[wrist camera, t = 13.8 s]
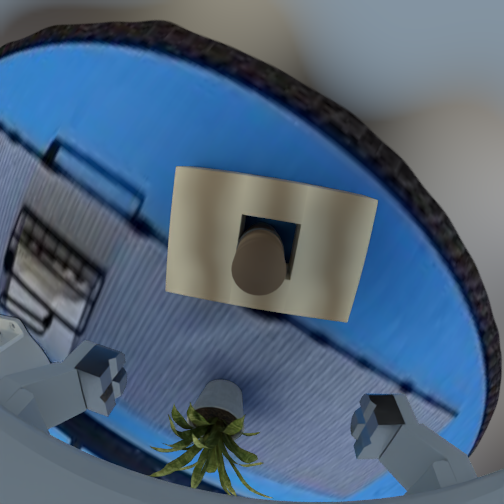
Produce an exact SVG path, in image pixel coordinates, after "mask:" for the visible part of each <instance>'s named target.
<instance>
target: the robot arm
mask: <svg viewBox="0 0 504 504" xmlns="http://www.w3.org/2000/svg"><path fill="white" fill-rule="evenodd" d="M124 364H125V354H124V353H122V352H120V351H117V350H114V349H111V348H108V347H105V346H103V345H100V344H96V343H94V342H91V341H88V340H85V341H83V342H82V343H81V344H80V345H79V346H78V347H77V348H76V349H75V350H74V351H73V352H72V353H71V354H70V355H69V356H68V357H67V358H66V359H65V360H64V361H63V362H62V363H60V362H55V363H51V364H50V362H49V360H48V358H47V357H46V355H45V354H44V352H43V351H42V349H41V348H40V347H39V346H38V345H37V343H36V342H35V341H34V340H33V339H32V338H31V337H30V335H29V334H28V332H27V330H26V329H25V327H24V325H23V324H22V322H21V321H20V320H19V319H17V318H13V317H8V316H3V315H0V504H504V468H503V469H501V470H498V471H496V472H493V473H490V474H487V475H484V476H481V477H477V475H476V473H475V471H474V469H473V467H472V464H471V463H470V460H469V458H468V456H467V454H465V453H464V452H462V451H461V450H459V449H458V448H456V447H455V446H453V445H452V444H451V443H449V442H448V441H446V440H445V439H443V438H442V437H441V436H439V435H438V434H436V433H435V432H434V431H432V430H431V429H429V428H428V427H426V426H425V425H424V424H419V423H418V421H417V418H416V416H415V414H414V412H413V410H412V408H411V406H410V403H409V401H408V399H407V397H406V395H404V394H364V395H363V396H362V398H361V400H360V406H361V407H360V408H359V409H357V410H356V411H355V412H354V414H353V416H352V420H351V435H352V436H353V437H354V438H355V439H356V442H355V444H354V449H355V453H356V458H357V459H379V461H380V462H381V463H382V464H383V465H384V466H385V467H386V469H387V470H388V471H389V472H390V473H391V474H392V475H393V476H394V477H395V478H396V480H397V481H398V482H399V483H400V484H401V485H402V486H403V487H404V488H405V489H406V490H407V492H406V493H405V494H404V495H403V496H397V497H390V498H382V499H373V500H362V501H347V502H290V501H274V500H263V499H253V498H245V497H238V496H231V495H225V494H219V493H214V492H208V491H204V490H199V489H194V488H190V487H186V486H182V485H178V484H174V483H170V482H166V481H163V480H159V479H156V478H153V477H149V476H146V475H143V474H140V473H137V472H134V471H131V470H128V469H125V468H123V467H120V466H117V465H115V464H112V463H110V462H107V461H105V460H102V459H100V458H97V457H95V456H93V455H90V454H88V453H86V452H84V451H81V450H79V449H77V448H75V447H73V446H71V445H69V444H67V443H65V442H63V441H61V440H59V439H57V438H55V437H53V436H51V435H50V433H49V431H48V429H50V428H52V427H54V426H56V425H58V424H60V423H62V422H64V421H66V420H68V419H70V418H72V417H74V416H76V415H78V414H80V413H82V412H84V411H86V410H87V409H88V410H91V411H94V412H96V413H99V414H102V415H105V416H107V417H108V416H109V414H110V413H111V411H112V410H113V408H114V406H115V405H116V403H115V399H116V398H118V397H120V396H121V395H122V394H123V392H124V390H125V387H126V384H127V372H126V371H125V369H124V368H123V365H124Z"/></svg>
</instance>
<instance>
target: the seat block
mask: <svg viewBox="0 0 504 504" xmlns="http://www.w3.org/2000/svg"><path fill="white" fill-rule="evenodd" d="M377 204H378V200H376V199H373V198H370V197H367V196H365V195H361V194H356V193H352V192H347V191H342V190H337V189H332V188H327V187H322V186H317V185H312V184H307V183H301V182H296V181H290V180H284V179H278V178H272V177H266V176H260V175H253V174H247V173H240V172H233V171H226V170H218V169H210V168H202V167H193V166H176V172H175V180H174V189H173V198H172V208H171V218H170V229H169V242H168V255H167V271H166V291H167V292H171V293H176V294H181V295H186V296H191V297H196V298H201V299H206V300H211V301H216V302H222V303H227V304H232V305H238V306H243V307H249V308H255V309H261V310H267V311H273V312H279V313H285V314H292V315H298V316H305V317H311V318H318V319H325V320H333V321H340V322H347V321H348V318H349V315H350V312H351V308H352V305H353V301H354V298H355V295H356V291H357V287H358V284H359V280H360V276H361V273H362V269H363V265H364V261H365V257H366V253H367V249H368V245H369V241H370V236H371V232H372V228H373V223H374V218H375V214H376V209H377ZM246 215H249V216H255V217H261V218H267V219H273V220H279V221H285V222H291V223H296V229H295V234H294V239H293V245H292V250H291V255H290V260H289V263H286V277H285V279H284V281H283V283H282V285H281V286H280V287H279V288H278V289H277V290H275V291H274V292H272V293H270V294H267V295H261V296H257V295H251V294H248V293H246V292H244V291H243V290H241V289H240V288H239V287H238V286H237V285H236V283H235V281H234V279H233V277H232V272H231V267H232V262H233V259H234V256H235V253H236V248H237V244H238V241H239V239H240V238H241V237H242V235H243V233H244V228H245V221H246Z"/></svg>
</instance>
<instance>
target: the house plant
mask: <svg viewBox="0 0 504 504" xmlns="http://www.w3.org/2000/svg"><path fill="white" fill-rule="evenodd" d="M171 413H172V418H173V420H174V421H175V422H176V423H177V424H178V425H179V426H181V427H182V428H184V429H190V430H187V431H183V432H179V431H177V430H176V429H175V427H174V424H173V422H172V420H171V418H170V416H169V415H168V416H169V420H170V424H171V428H172V430H173V432H174V433H175V434H176V435H177V436H179V437H180V438H181V439H183V440H181V441H179V442H177V443H175V444H173V445H171V446H170V445H168V446H170V447H173V448H172V449H162V448H155V447H151V446H150V447H151V448H153V449H155V450H157V451H159V452H173V451H178V450H188V451H186V452H185V453H184V454H183V455H181V456H180V457H178V458H177V459H175V460H173V461H172V462H170V463H168V464H167V465H166V466H165V467H164V468H163V469H162V470H161V471H159V472H156V473H154V474H152V475H150V476H153V477H155V476H164V475H167V474H170V473H172V472H174V471H178V470H185V469H189V468H192V467H194V466H195V468H194V470H193V474H192V479H191V488H194V489H195V488H196V487H197V486H198V485H199V483H200V482H201V480H202V478H203V476H204V474H205V472H208V473H213V472H215V471H216V470H217V469H218V472H219V478H220V482H221V486H222V487H223V489H224V490H225V491H226V493H227V494H228V495H231V494H230V493H229V492H228V490H229V491H230V492H231V493H232V494H234V495H235V496H236V493H235V491H234V489H233V488H232V486H231V482H230V479H229V477H228V475H227V473H226V470H225V466H224V461H223V456H222V453H223V455H224V456H225V457H226V458H227V459H228V460H229V462H230V464H231V465H232V467H233V469H234V471H235V472H236V474H237V476H238V477H239V479H240V480H241V482H242V483H243V484H244V485H245V486H246V487H247V488H248V489H249V490H250V491H252V492H254V493H256V494H258V495H261V496H264V497H268V496H266V495H263V494H261V493H259V492H257V491H256V490H254V489H253V488H251V487H250V486H249V485H248V484H247V483H246V482H245V480H244V479H243V477H242V476H241V474H240V473H239V471H238V470H237V468H236V467H235V465H234V464H233V463H235V464H237V463H236V462H235V461H233V459H232V458H231V457H230V456H229V454H228V452H227V450H226V448H225V446H226V447H227V448H228V449H229V450H230V451H231V452H233V453H234V454H235V455H236V456H237V457H238V458H239V459H240V460H241V461H243V462H245V463H248V464H247V465H241V464H239V465H241V466H244V467H249V466H255V465H260V464H263V463H262V462H260V463H255V464H249V463H251V462H254V461H256V460H257V459H258V458H257V456H256V455H255V454H253V453H250V452H248V451H245V450H243V449H241V448H240V447H239V446H238V445H237V444H236V443H235V442H234V440H236V439H237V438H239V437H240V436H241V435H242V434H243V435H246V436H253V435H257V434H258V433H260V432H257V433H243V432H244V417H245V415H243V401H242V392H241V390H240V388H239V387H238V386H237V385H236V384H234V383H233V382H230V381H227V380H219V379H218V380H213V381H211V382H209V383H208V384H207V385H206V387H205V388H204V390H203V391H202V393H201V395H200V396H199V398H198V399H197V401H196V402H195V404H194V405H193V407H192V406H191V402H190V406H189V409H188V411H187V422H188V423H187V422H186V421H185V419H184V418H183V416H182V415H181V414H180V413H179V412H178V411H177V409H176V407H175V405H174V406H173V409H172V412H171ZM198 438H200V439H199V440H198ZM192 442H194V445H193V446H192V447H189V448H186V447H188V446H190V445H191V443H192ZM163 444H164V443H163ZM189 444H190V445H189ZM192 444H193V443H192ZM224 444H225V446H224ZM166 445H167V444H166ZM205 445H206V446H205ZM202 448H204V449H203V451H202V452H201V454H200V457H199V459H198V462H196V463H195V464H193V465H190V466H187V467H183V466H185V465H186V464H188V463H189V462H190V461H191V460H192V459H193V458H194V456H195V455H196V454H197V453H198V452H199V451H200V450H201V449H202ZM205 461H206V462H205ZM203 466H204V467H203ZM181 467H183V468H181ZM179 468H180V469H179ZM202 468H203V469H202ZM201 470H202V471H201ZM226 487H227V488H228V490H227V488H226ZM268 498H271V497H268Z"/></svg>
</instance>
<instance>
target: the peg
mask: <svg viewBox="0 0 504 504" xmlns="http://www.w3.org/2000/svg"><path fill="white" fill-rule="evenodd" d="M231 272H232V277H233V279H234V281H235V283H236V285H237V286H238V287H239V288H240V289H241V290H243V291H244V292H246V293H248V294H251V295H257V296H261V295H267V294H270V293H272V292H274V291H275V290H277V289H278V288H279V287H280V286H281V285H282V283H283V281H284V279H285V277H286V263H285V257H284V246H283V243H282V241H281V238H280V236H279V234H278V233H277V232H276V230H275V229H274V228H273V227H272V226H271V225H270V224H268V223H265V222H257V223H254V224H252V225H251V226H250V227H249V228H248V229H247V230H246V231H245V232H244V233H243V235H242V237H241V238H240V239H239V241H238V244H237V248H236V253H235V256H234V259H233V262H232V267H231Z"/></svg>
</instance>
